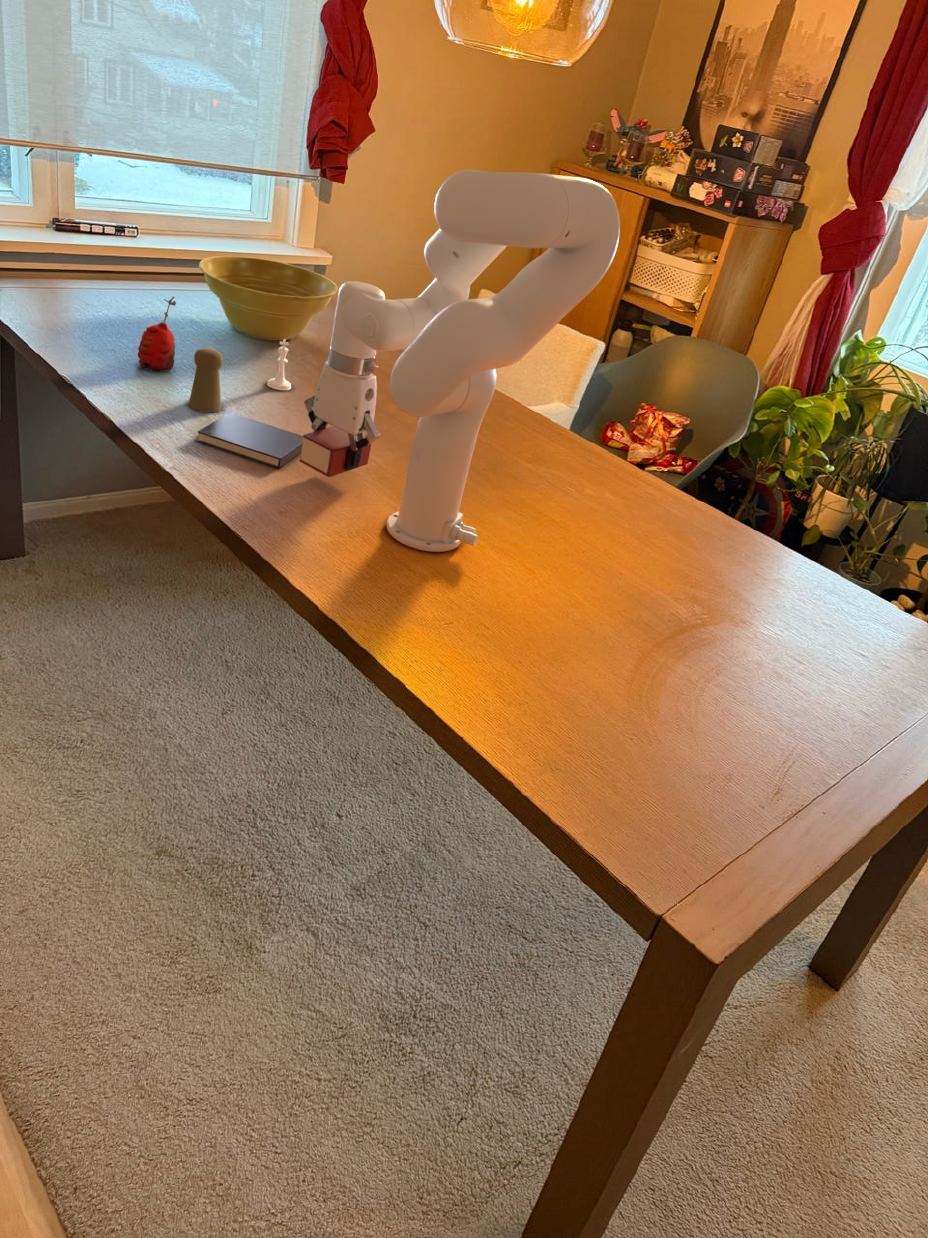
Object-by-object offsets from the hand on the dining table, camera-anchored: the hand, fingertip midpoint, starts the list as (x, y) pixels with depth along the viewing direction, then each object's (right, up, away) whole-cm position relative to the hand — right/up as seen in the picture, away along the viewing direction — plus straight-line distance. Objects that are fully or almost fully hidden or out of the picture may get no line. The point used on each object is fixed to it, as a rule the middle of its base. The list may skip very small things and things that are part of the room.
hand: (334, 459), depth 160 cm
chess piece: (-17, +21, +34) cm, 43 cm away
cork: (-27, +13, +16) cm, 34 cm away
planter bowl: (-26, +42, +62) cm, 79 cm away
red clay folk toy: (-40, +23, +27) cm, 54 cm away
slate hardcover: (-16, +4, +6) cm, 17 cm away
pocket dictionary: (0, -1, 0) cm, 1 cm away
